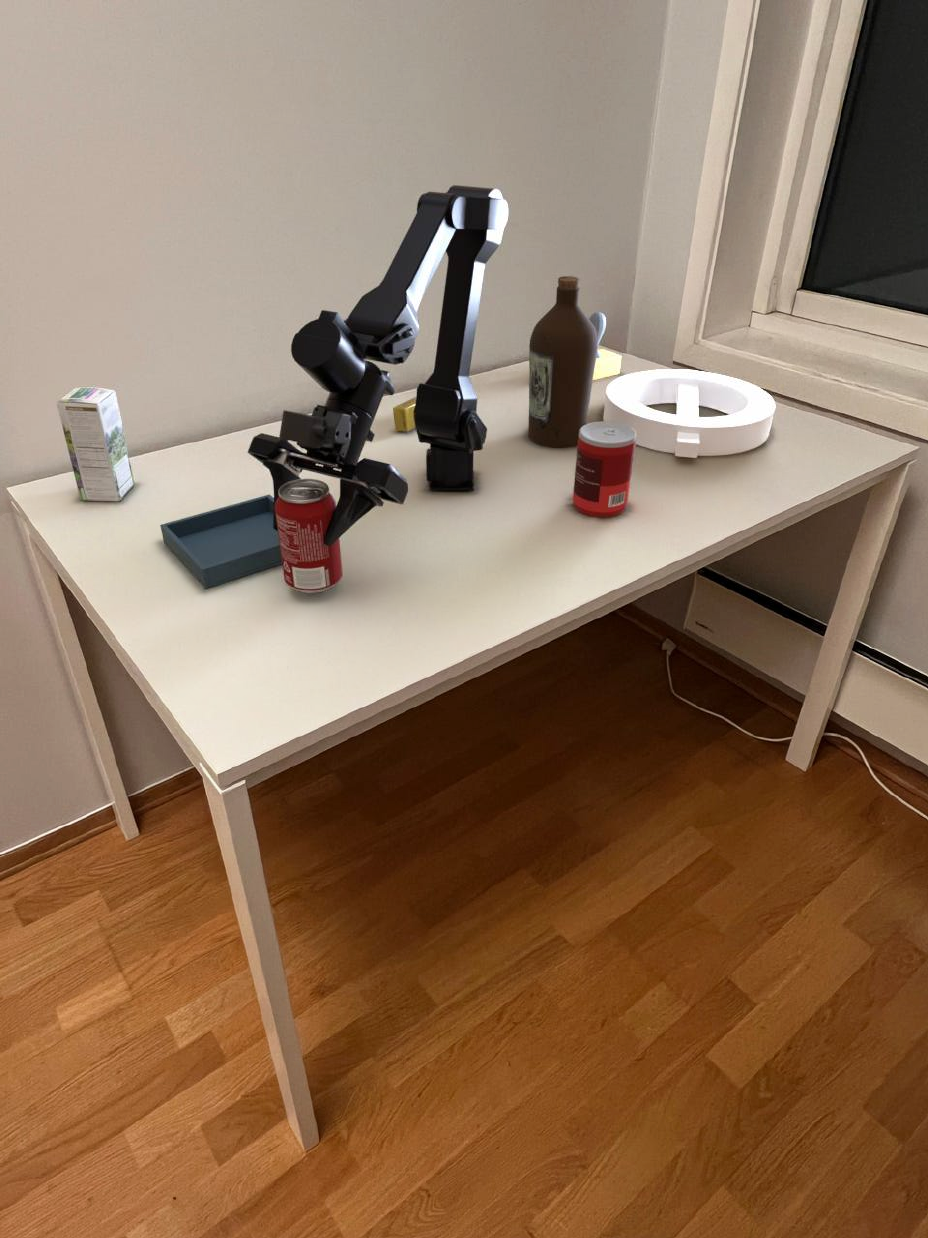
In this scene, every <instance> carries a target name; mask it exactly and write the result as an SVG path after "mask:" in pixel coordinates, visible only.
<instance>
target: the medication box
mask: <svg viewBox="0 0 928 1238" xmlns="http://www.w3.org/2000/svg"><path fill="white" fill-rule="evenodd" d="M415 404H416V396H414V397H412V398H410V399H408V400H406V401H404V402H402V403H400V404H398V405H396V406H393V407H392V413H393V421H394V422H393V423H394V427H395V428H394V430H395V431H398V432H409V431H412V430H413V429H416V427H415V423H414V418H413V415H414V413H413V411H414V408H415Z"/></svg>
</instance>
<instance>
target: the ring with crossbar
mask: <svg viewBox="0 0 928 1238" xmlns="http://www.w3.org/2000/svg"><path fill="white" fill-rule="evenodd" d="M660 404H676V414H675V413H674V414H672V413H668V412H664V411H661V410H657V409H654V408H651V407H649V406H651V405H660ZM699 406H700V407H705V408H710V409H713V410H716V411H720V412H723V413H725V414H726V415H721V416H720V415H719V416H700V415H699V411H700V410H699ZM603 409H604V410H603V418H602V419H603V421H607V422H617V423H621V424H625V425H627V426H629V427H631V428H633V429H634V430H635V431H636V445H637V446H640V447H643V448H646V449H650V450H653V451H659V452H663V453H669V454H674V456H675V457H683V458H690V459H691V458H693V459H697V458H698V456H699V457H709V456H710V457H711V456H713V457H714V456H727V455H736V454H740V453H744V452H748V451H751V450H753V449H756V448H757V447H760V446H762V445H763V444H764V443H766V441H767V440H768V438H769V435H770V431H771V427H772V423H773V418H774V415H775V410H776V402H775V400H774V398H773V396H771V395H770V394H769V393H768V392H767V391H766V390H763V389H762V388H761V387H759V386H757V385H754V384H752V383H751V382H750V383H749V382H747V381H745V380H741V379H739V378H735V377H731V376H727V375H723V374H719V373H713V372H707V371H699V370H696V369H695V370H694V369H684V368H683V369H681V368H679V369H653V370H652V369H651V370H644V371H642V370H641V371H637V372H633V373H628V374H625V375H621V376H619V377H617V378H615V379H614V380H612V381H611V382H610V383H609V384H608V385H607V387H606V390H605V400H604V408H603Z"/></svg>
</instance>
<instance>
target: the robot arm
mask: <svg viewBox="0 0 928 1238" xmlns="http://www.w3.org/2000/svg"><path fill="white" fill-rule="evenodd" d="M508 204H509V203H508V202H507V200H506V199H504V198H503V195H502V192H501V190H499V188H490V187H480V186H467V185H459V184H458V185H457V184H456V185H455V184H453V185H452V186H450V187H449V189H448V190H447V191H446V192H438V191H427V192H425V193H422V194H421V195H420V197H419V198H418V200H417V204H416V213H415V215H414V217H413V219H412V222H411V223H410V225H409V227H408V229H407V231H406V234H405V235H404V237H403V239H402V241H401V243H400V245H399V247H398V249H397V250H396V253H395V255H394V257H393V259H392V261H391V262H390V265H389V267H388V268H387V271H386V273H385V275H384V277H383V279H381V280H382V281H380V282H379V284H378V286H376V287H374V288H373V289H371V290H370V291H368V292H366V293H364V294H362V296H361V298H360V299H359V300H358V301H357V303H356V304H355V306H354V307H353V309H351V312H350V313H349V315H348V316H347V317H346V319H343V317H342V316H341V315H340V314H339V312H337V311H332V310H327V309H326V310H325V309H322V310H321V311H320V313H319V316H318V318H316V319H314V320H311V321H309V322H307V323H306V324H304V326H302V327H301V328H300V329H299V330H298V332H296V333H295V334H294V336H293V338H292V341H291V345H290V353H291V356H292V359H293V361H294V362H295V363H296V364H297V365H298V366H299V367H300V368H301V369H302V370H303V371H304V372H306V374H307V375H308V376H310V377H311V378H312V379H313V380H314V382H315V383H316V384H318V385H319V386H320V388H322V389H323V390H324V391H327V392H328V393H329V394H328V396H327V399H326V401H325V403H324V405H321V404H317V405H316V406H315V407H314V408H313V411H312V413H311V414H306V413H302V412H295V411H291V410H286V409H285V410H284V409H283V411H282V416H281V423H280V430H279V435H278V436H277V435H276V436H275V435H271V434H267V433H263V432H260V433H258V434H257V435H255V436H253V438H252V439H251V442H250V444H249V447H248V450H247V451H246V452H247V454H249V455H250V456H252V457H253V458H254V459H256V460H257V461H259V462H260V463H261V464H262V466H263V467H265V468H266V469H268V470H269V473H270V476H271V479H272V486H273V498H274V509H273V529H274V530H276V531H278V529H277V522H276V514H275V503H276V501H277V499H278V497H279V493H278V491H279V488H280V487H281V486H282V485H284V484H285V483H287V482H290V481H293V480H298V479H302V478H301V477H300V474H301V473H302V472H303V471H307V472H311V473H315V474H319V475H324V476H328V477H331V478H334V479H338V480H339V498H338V501H337V502H336V508H335V511H334V513H333V516H332V518H331V521H330V523H329V526H328V528H327V531H326V535H325V538H324V544H325V545H326V546H329V547H330V546H332V545H333V544H334V543H335V542H336V541H337V540H338V539H339V540H340V538H341V537H342V536H343V535H344V534H345V533H346V532H347V531H348V530H349V529H350V528H351V527H353V526H354V525H355V524H356V523H357V522H358V521H359V520H360V519H361V518H363V517H364V516H366V514H368V513H369V512H370V511H372V510H373V509H374V508H375V507H380V508H381V507H383V506H384V504H385V502H384V501H386V502H390V503H394V504H397V505H404V504H405V500H406V499H407V495H408V492H409V483H408V481H407V479H406V478H405V477H404V476H403V475H402V473H400V472H399V471H398V470H397V469H396V468H395V467H394V466H393V465H392V464H391V463H387V462H383V461H378V460H374V459H372V458H371V459H370V458H366V457H363V458H362V459H361V460H360V457H361V454H362V452H363V449H364V447H365V444H366V442H370V443H373V442H374V441H373V440H374V438H375V436H376V434H375V433H374V432H373V431H372V430H371V428H372V426H373V423H374V421H375V418H376V416H377V413H378V410H379V408H380V405H381V402H382V400H383V397H384V395H386V396H394V394H395V387H394V384H393V382H392V380H391V375H390V371H388V370H383V369H380V367H379V366H377V364H375V363H374V362H379V363H383V364H384V363H385V364H388V365H395V366H396V365H400V364H404V363H405V362H406V361H407V360H408V358H409V357H410V355H411V353H412V352H413V350H414V347H415V342H416V339H417V337H418V334H419V330H420V323H419V318H418V310H419V306H420V304H421V301H422V299H423V297H424V295H425V294H426V291H427V289H428V287H429V285H430V283H431V280H432V279H433V277H434V275H435V273H436V271H437V269H438V267H439V264H440V263H441V260H442V259H443V257H444V255H445V253H446V256H447V265H446V266H447V267H446V275H445V282H444V289H443V290H444V291H443V298H442V305H441V312H440V321H439V329H438V335H437V344H436V349H435V351H436V352H435V358H434V366H433V372H432V373H431V374H430V376H429V377H428V379H426V381H425V383H422V382H421V383H419V384H418V386H417V388H416V395H415V397H416V404H415V408H414V411H413V413H414V415H413V418H414V423H415V430H416V431H415V432H416V435H417V439H418V442H419V443H420V444H421V443H422V444H423V443H424V444H429V448H427V449H426V454H425V471H426V472H425V473H426V474H425V476H426V479H425V480H426V482H427V483H429V486H428V488H429V489H428V490H429V491H432V492H433V491H434V492H435V491H436V492H437V491H441V492H443V491H444V492H447V491H448V492H473V491H474V490H475V470H474V457H475V452H477V451H482V450H483V449H484V444H485V443H486V439H487V433H488V428H487V426H486V425H485V423H484V422H483V421H482V419H481V417H480V416H479V415H478V414H477V408H478V397H477V394H476V391H475V389H474V386H473V383H472V381H471V378H470V373H471V372H470V371H471V370H470V369H471V365H472V358H473V350H474V344H475V337H476V330H477V324H478V323H477V322H478V315H479V308H480V303H481V297H482V296H481V295H482V289H483V282H484V273H485V268H486V264H487V263H488V262H489V260H490V259H491V258H492V256H493V255H494V253H495V252H496V251H497V250H498V248H499V247H500V245H501V242H502V237H503V233H504V230H505V227H506V225H507V222H508V220H509V219H508V218H509V205H508ZM290 441H291V442H295V443H296V445H297V447H299V448H300V449H303V450H305V451H306V452H303V451H301V450H299V449H298V448H297V447H296V446H294V445H293V444H292V443H291V442H290Z"/></svg>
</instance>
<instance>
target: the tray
mask: <svg viewBox="0 0 928 1238" xmlns="http://www.w3.org/2000/svg"><path fill="white" fill-rule="evenodd" d="M273 509H274V496H272V495H271V494H265V495H262V496H259V497H256V498H252V499H248V500H244V501H240V502H236V503H233V504H229V505H226V506H222V507H219V508H216V509H212V510H209V511H205V512H201V513H198V514H194V515H191V516H186V517H184V518H180V519H176V520H173V521H169V522H166V523H163V524H160V525H159V526H160V530H161V535H162V539H163V540H162V541H163V544H164V545H165V546H166V547H167V548H168V549H169V550H170V552H172V553H173V555H174V556H175V557H176V558H177V559H178V560H179V562H181V563H182V565H183V566H184V567H185V568H186V569H187V570H188V572H190V573H191V574H192V576H193V577H194V578H195V579H196V580H197V581H198V582H199V583H200V584H201V585H202V586H203V588H205V590H207V589H210V588H213V587H216V586H220V585H222V584H225V583H229V582H231V581H234V580H238V579H240V578H243V577H246V576H249V575H253V574H255V573H259V572H262V571H265V570H268V569H271V568H274V567H277V566H280V565H282V558H281V551H280V543H279V536H278V531H276V530H274V529H273Z"/></svg>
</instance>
